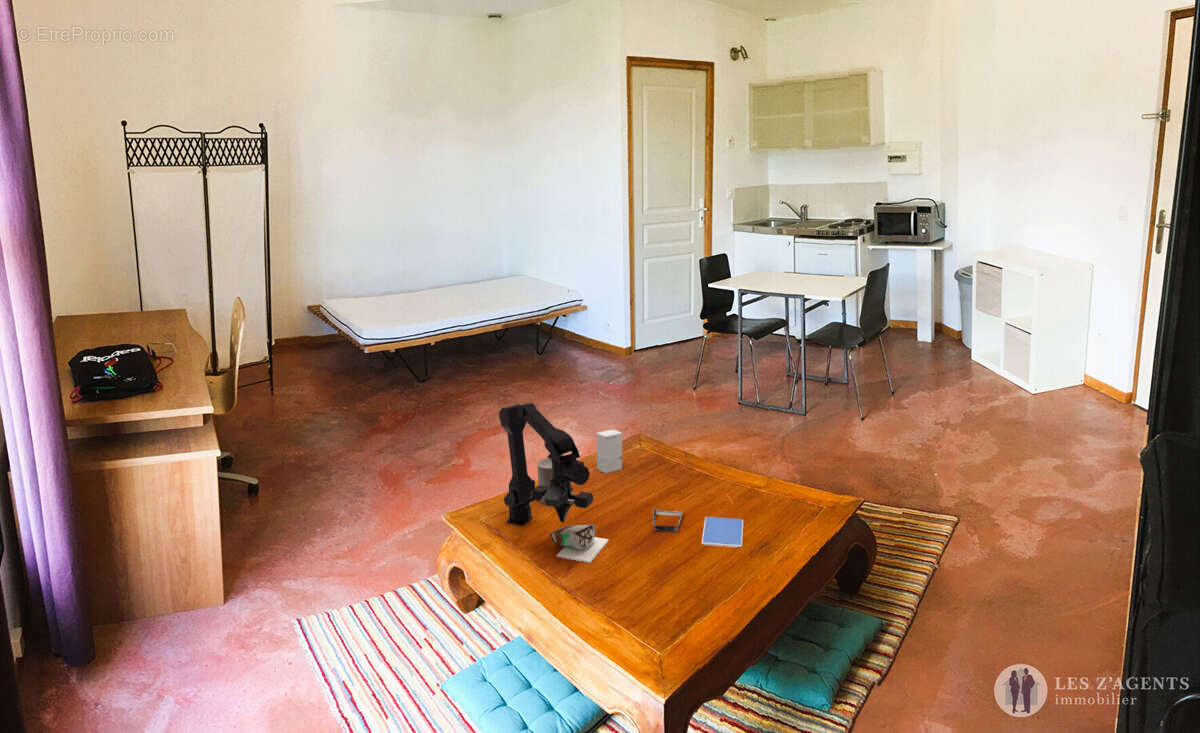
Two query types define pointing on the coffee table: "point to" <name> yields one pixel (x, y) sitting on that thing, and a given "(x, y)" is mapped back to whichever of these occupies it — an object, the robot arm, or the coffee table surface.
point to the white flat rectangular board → (584, 551)
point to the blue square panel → (722, 532)
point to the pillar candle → (544, 473)
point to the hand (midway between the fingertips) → (562, 521)
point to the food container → (574, 536)
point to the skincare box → (609, 451)
